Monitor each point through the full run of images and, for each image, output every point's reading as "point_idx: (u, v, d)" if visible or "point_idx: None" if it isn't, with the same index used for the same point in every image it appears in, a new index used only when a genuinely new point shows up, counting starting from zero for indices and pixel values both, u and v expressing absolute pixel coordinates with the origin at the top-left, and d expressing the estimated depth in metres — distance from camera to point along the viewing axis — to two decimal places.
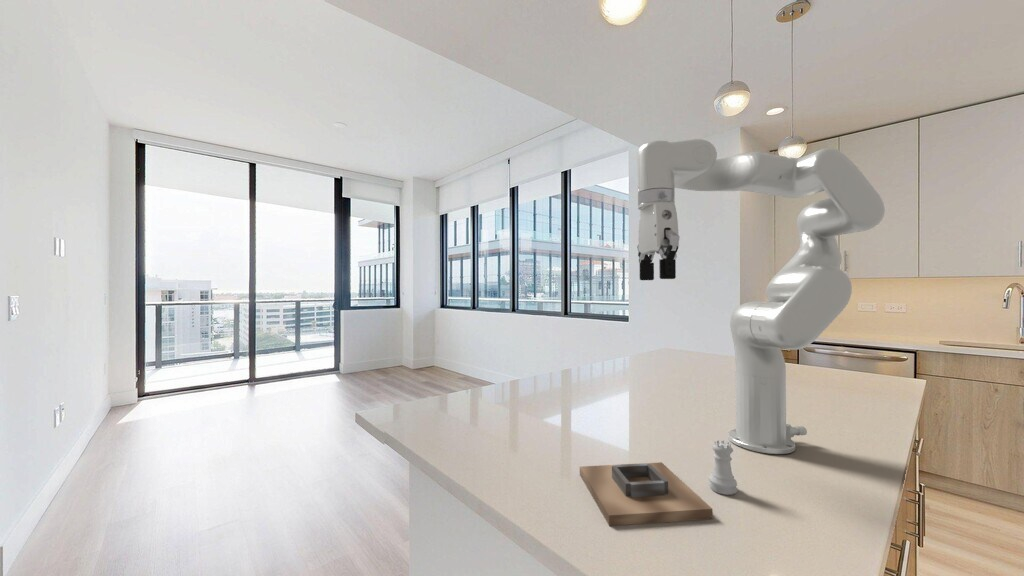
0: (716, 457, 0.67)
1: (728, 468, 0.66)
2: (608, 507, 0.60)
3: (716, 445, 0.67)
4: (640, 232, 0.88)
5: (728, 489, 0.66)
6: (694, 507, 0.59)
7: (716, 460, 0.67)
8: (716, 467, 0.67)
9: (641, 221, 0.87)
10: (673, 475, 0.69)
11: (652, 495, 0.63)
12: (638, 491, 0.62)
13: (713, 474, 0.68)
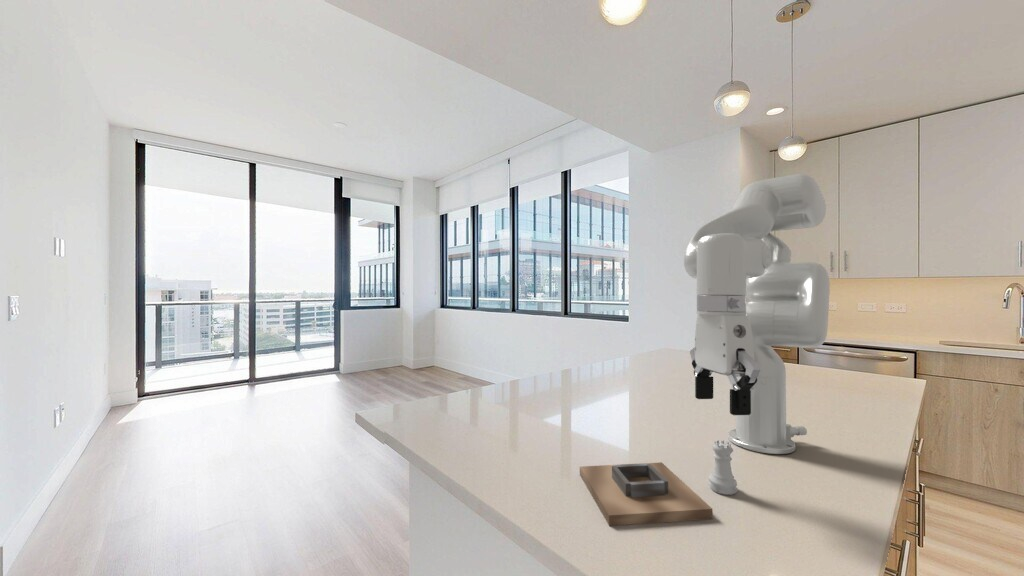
0: (716, 457, 0.67)
1: (728, 468, 0.66)
2: (608, 507, 0.60)
3: (716, 445, 0.67)
4: (698, 341, 0.70)
5: (728, 489, 0.66)
6: (694, 507, 0.59)
7: (716, 460, 0.67)
8: (716, 467, 0.67)
9: (700, 329, 0.69)
10: (673, 475, 0.69)
11: (652, 495, 0.63)
12: (638, 491, 0.62)
13: (713, 474, 0.68)
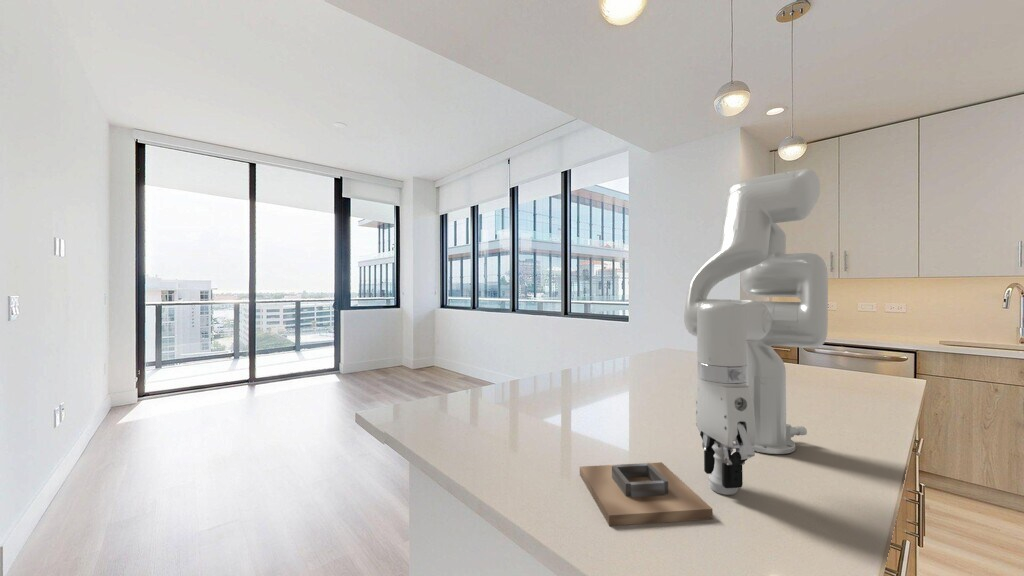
0: (716, 457, 0.67)
1: None
2: (608, 507, 0.60)
3: (716, 445, 0.67)
4: (699, 406, 0.70)
5: (728, 489, 0.66)
6: (694, 507, 0.59)
7: (716, 460, 0.67)
8: (716, 467, 0.67)
9: (701, 394, 0.69)
10: (673, 475, 0.69)
11: (652, 495, 0.63)
12: (638, 491, 0.62)
13: (713, 474, 0.68)
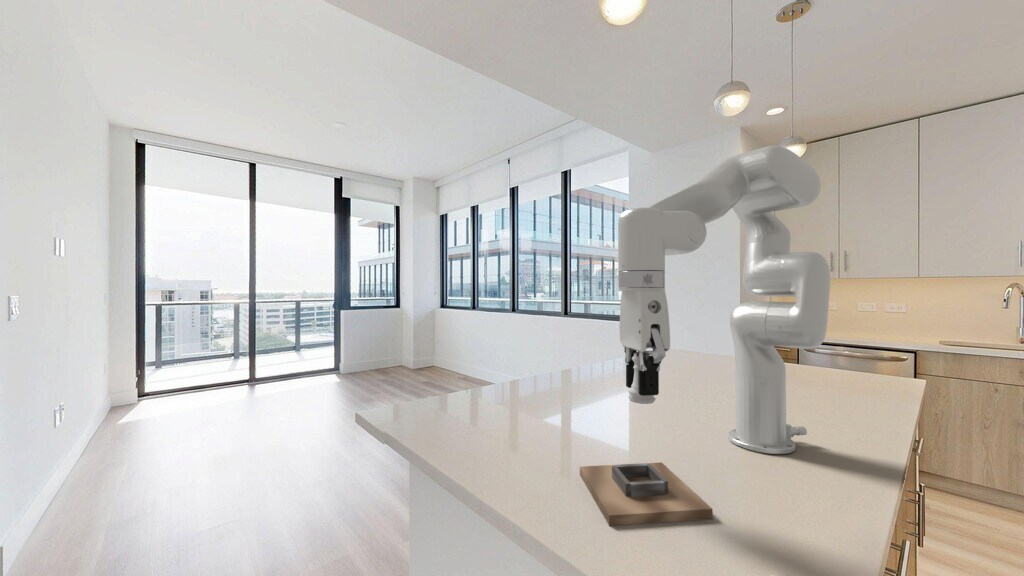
0: (635, 367, 0.66)
1: None
2: (608, 507, 0.60)
3: (635, 355, 0.66)
4: (621, 319, 0.69)
5: (645, 398, 0.64)
6: (694, 507, 0.59)
7: (635, 370, 0.66)
8: (635, 377, 0.66)
9: (622, 306, 0.68)
10: (673, 475, 0.69)
11: (652, 495, 0.63)
12: (638, 491, 0.62)
13: (632, 385, 0.66)
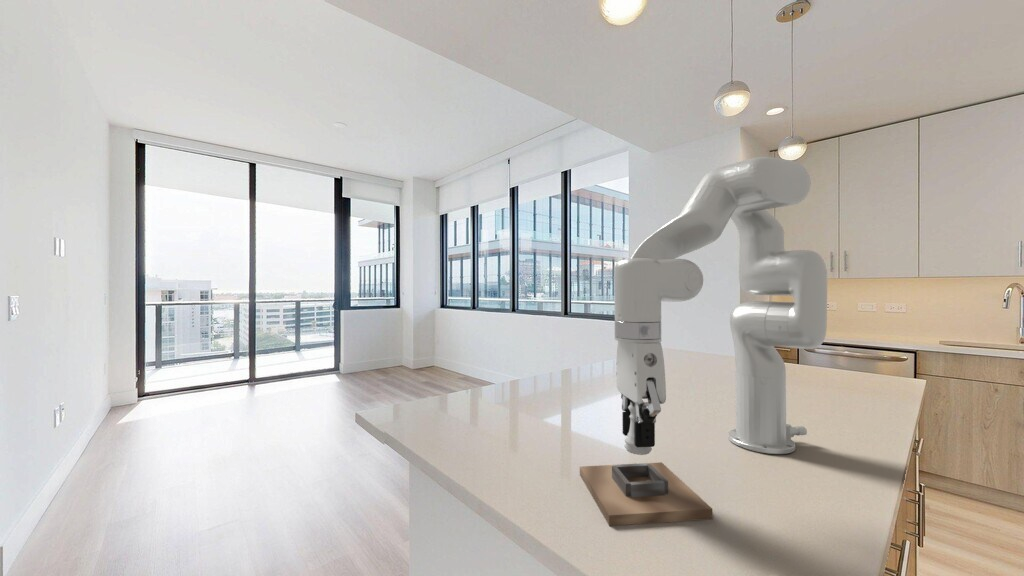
0: (631, 417, 0.66)
1: None
2: (608, 507, 0.60)
3: (631, 404, 0.66)
4: (618, 367, 0.69)
5: (641, 448, 0.64)
6: (694, 507, 0.59)
7: (631, 420, 0.66)
8: (631, 427, 0.66)
9: (619, 354, 0.68)
10: (673, 475, 0.69)
11: (652, 495, 0.63)
12: (638, 491, 0.62)
13: (628, 434, 0.66)
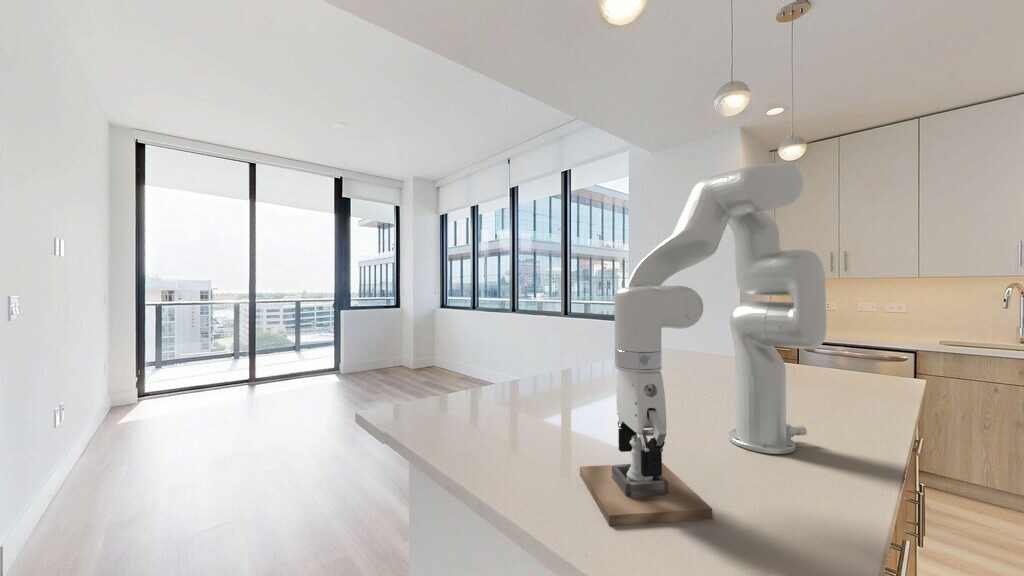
0: (633, 452, 0.66)
1: None
2: (608, 507, 0.60)
3: (633, 440, 0.66)
4: (618, 394, 0.69)
5: None
6: (694, 507, 0.59)
7: (633, 455, 0.66)
8: (633, 462, 0.66)
9: (619, 382, 0.68)
10: (673, 475, 0.69)
11: (652, 495, 0.63)
12: (638, 491, 0.62)
13: (630, 469, 0.66)
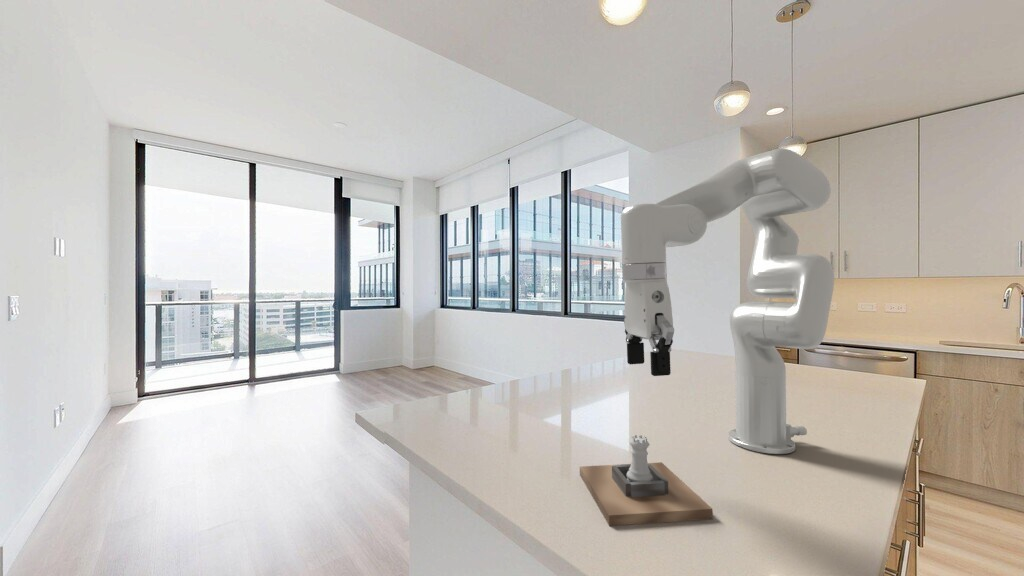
0: (632, 452, 0.66)
1: (644, 463, 0.65)
2: (608, 507, 0.60)
3: (632, 440, 0.66)
4: (626, 309, 0.73)
5: None
6: (694, 507, 0.59)
7: (632, 455, 0.66)
8: (632, 462, 0.66)
9: (627, 297, 0.72)
10: (673, 475, 0.69)
11: (652, 495, 0.63)
12: (638, 491, 0.62)
13: (630, 469, 0.66)
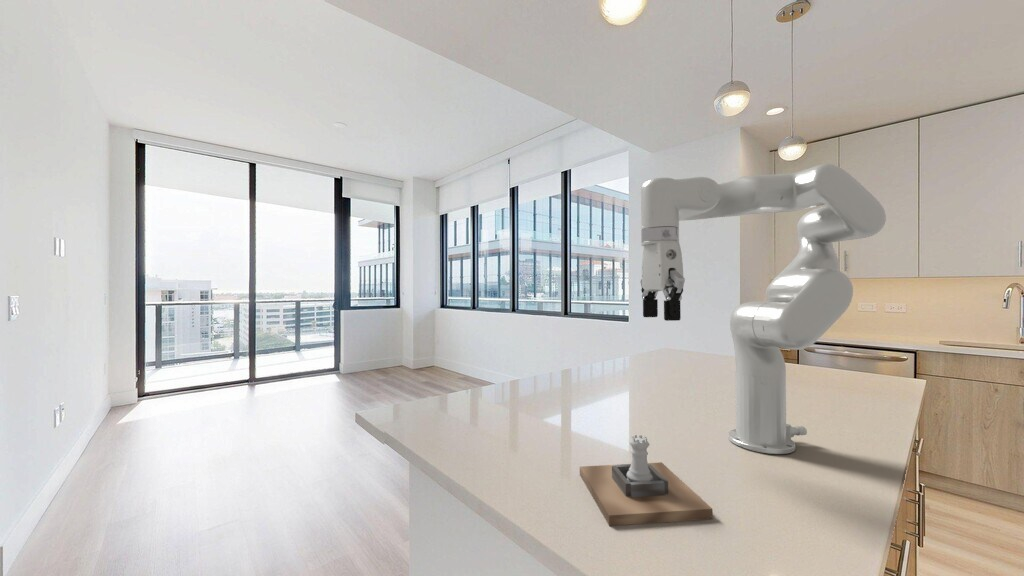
0: (632, 452, 0.66)
1: (644, 463, 0.65)
2: (608, 507, 0.60)
3: (632, 440, 0.66)
4: (643, 269, 0.86)
5: None
6: (694, 507, 0.59)
7: (632, 455, 0.66)
8: (632, 462, 0.66)
9: (645, 258, 0.85)
10: (673, 475, 0.69)
11: (652, 495, 0.63)
12: (638, 491, 0.62)
13: (630, 469, 0.66)
